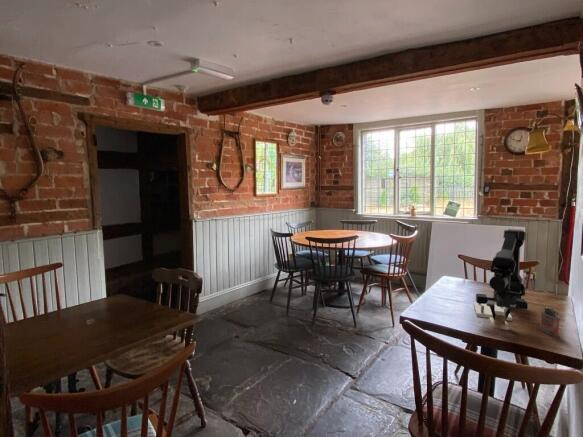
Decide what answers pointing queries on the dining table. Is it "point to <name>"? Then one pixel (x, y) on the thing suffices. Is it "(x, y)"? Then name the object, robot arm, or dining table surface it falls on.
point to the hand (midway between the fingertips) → (499, 320)
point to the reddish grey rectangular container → (550, 321)
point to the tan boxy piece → (499, 321)
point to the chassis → (488, 310)
